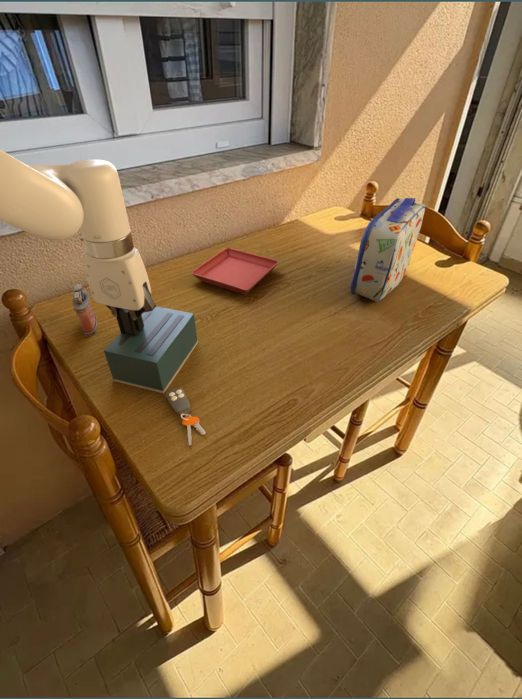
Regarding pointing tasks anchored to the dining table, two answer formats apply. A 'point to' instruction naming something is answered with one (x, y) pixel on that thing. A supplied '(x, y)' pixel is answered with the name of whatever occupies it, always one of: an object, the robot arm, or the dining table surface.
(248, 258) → the plant saucer
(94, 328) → the lighter
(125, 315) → the slider
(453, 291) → the dining table surface
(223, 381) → the dining table surface
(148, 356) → the toaster
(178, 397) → the key chain
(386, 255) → the lunch box
